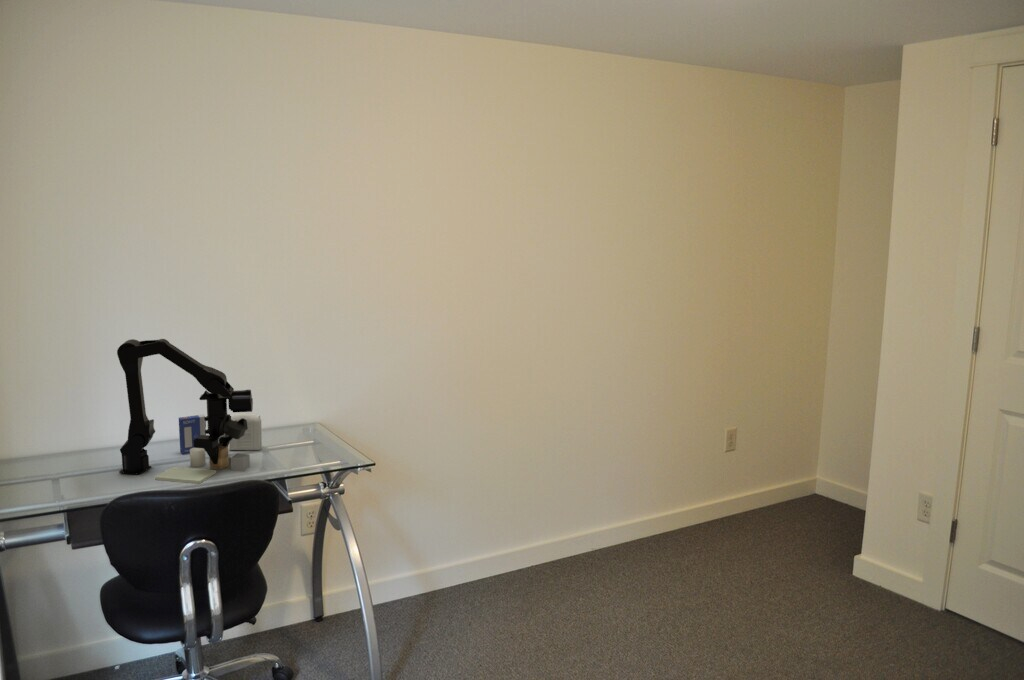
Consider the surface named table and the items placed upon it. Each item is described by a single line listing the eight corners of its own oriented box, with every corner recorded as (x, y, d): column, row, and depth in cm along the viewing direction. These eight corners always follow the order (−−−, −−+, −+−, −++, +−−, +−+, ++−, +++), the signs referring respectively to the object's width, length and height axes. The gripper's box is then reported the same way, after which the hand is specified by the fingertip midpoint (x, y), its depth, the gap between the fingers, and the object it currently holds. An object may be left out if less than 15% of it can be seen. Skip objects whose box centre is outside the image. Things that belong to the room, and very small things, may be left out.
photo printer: (263, 446, 252) (262, 411, 250) (260, 450, 248) (259, 414, 246) (231, 447, 251) (229, 411, 248) (228, 451, 246) (226, 414, 244)
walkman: (182, 454, 242) (180, 418, 240) (180, 452, 244) (178, 416, 242) (207, 450, 246) (206, 415, 244) (205, 448, 249) (204, 413, 246)
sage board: (155, 479, 220) (155, 477, 220) (173, 469, 229) (172, 466, 229) (199, 483, 218) (199, 480, 218) (216, 472, 227) (216, 470, 227)
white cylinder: (187, 466, 232) (186, 450, 231) (195, 461, 236) (194, 446, 235) (201, 467, 231) (200, 452, 230) (208, 462, 235) (208, 447, 234)
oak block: (209, 468, 231) (209, 449, 230) (216, 463, 235) (215, 445, 234) (222, 469, 230) (221, 450, 229) (228, 464, 234) (228, 446, 233)
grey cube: (231, 470, 230) (230, 457, 229) (237, 465, 234) (237, 453, 233) (243, 471, 229) (243, 458, 229) (249, 466, 233) (249, 454, 233)
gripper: (226, 423, 219) (228, 474, 222) (256, 406, 238) (257, 453, 240) (190, 420, 221) (193, 471, 224) (223, 404, 239) (225, 451, 242)
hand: (219, 461), depth 232 cm, fingers closed on oak block, 4 cm apart
